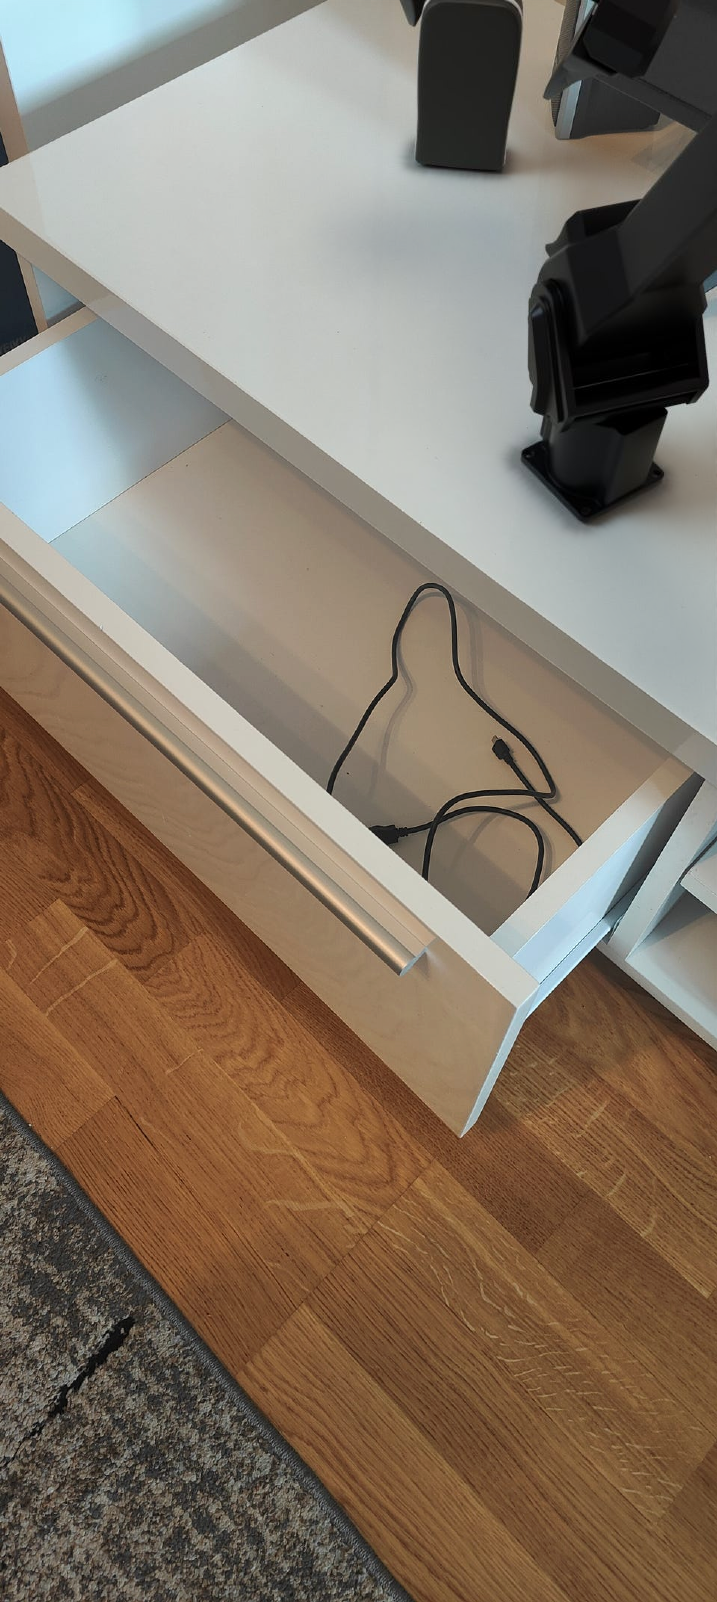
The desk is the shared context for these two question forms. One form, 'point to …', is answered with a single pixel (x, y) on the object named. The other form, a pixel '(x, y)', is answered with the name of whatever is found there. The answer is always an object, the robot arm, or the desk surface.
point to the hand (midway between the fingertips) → (482, 56)
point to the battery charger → (467, 81)
